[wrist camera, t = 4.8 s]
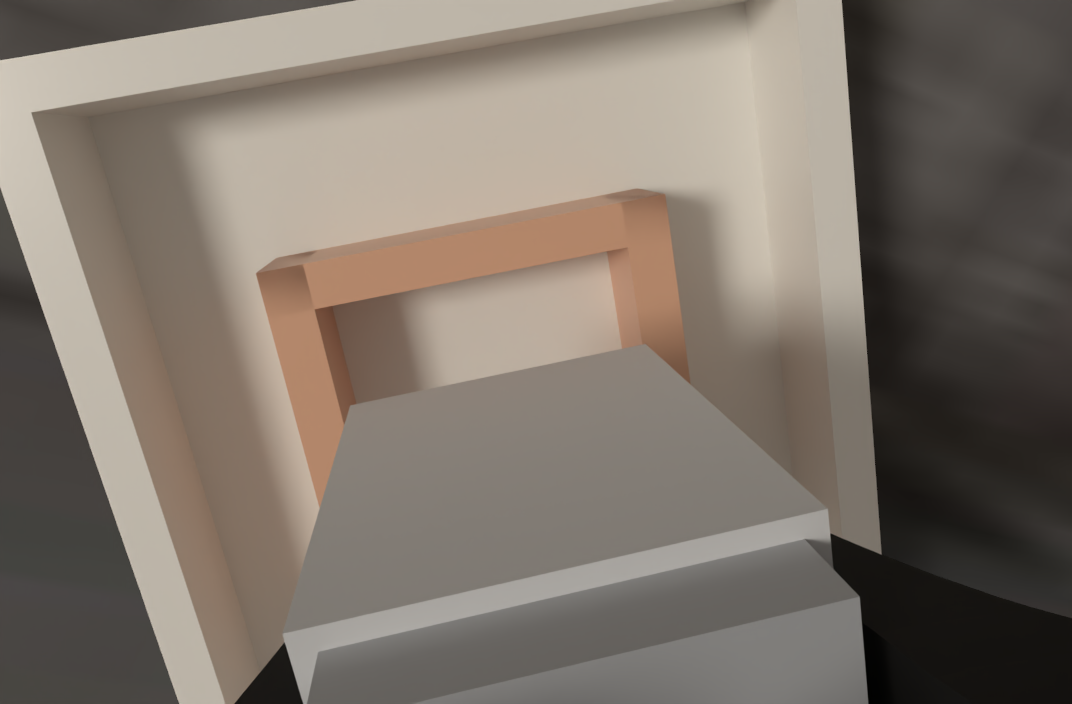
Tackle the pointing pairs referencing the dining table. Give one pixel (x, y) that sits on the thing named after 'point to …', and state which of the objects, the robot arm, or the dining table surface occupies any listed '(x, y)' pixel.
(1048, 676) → the robot arm
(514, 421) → the grey plug
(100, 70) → the walled box
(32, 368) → the dining table surface
